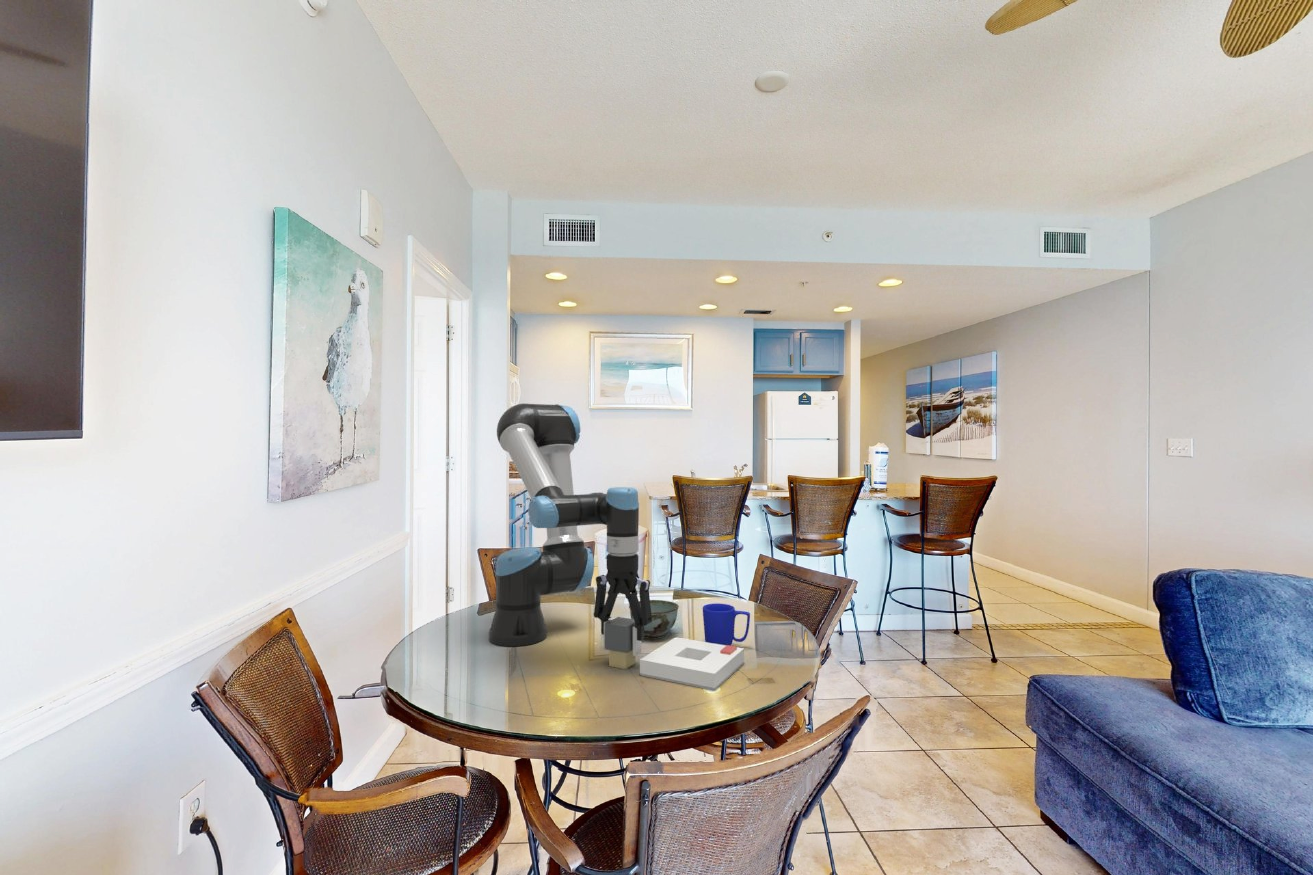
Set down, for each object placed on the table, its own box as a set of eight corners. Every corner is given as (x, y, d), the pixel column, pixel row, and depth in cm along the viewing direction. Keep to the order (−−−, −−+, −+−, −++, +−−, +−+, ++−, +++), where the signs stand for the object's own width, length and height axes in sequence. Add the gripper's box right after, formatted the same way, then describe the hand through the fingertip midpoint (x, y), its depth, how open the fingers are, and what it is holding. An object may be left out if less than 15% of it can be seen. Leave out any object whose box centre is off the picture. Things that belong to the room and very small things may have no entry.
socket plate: (639, 675, 135) (640, 656, 135) (675, 651, 150) (675, 634, 150) (714, 690, 126) (714, 670, 126) (744, 663, 142) (743, 645, 142)
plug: (604, 666, 140) (604, 623, 140) (618, 658, 145) (618, 616, 146) (626, 670, 137) (626, 626, 137) (639, 662, 143) (639, 620, 143)
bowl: (669, 645, 155) (669, 614, 155) (621, 639, 159) (621, 609, 160) (684, 630, 168) (684, 601, 168) (640, 625, 172) (640, 597, 172)
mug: (749, 654, 148) (749, 613, 149) (700, 650, 151) (700, 610, 151) (750, 643, 156) (750, 604, 157) (704, 640, 159) (704, 602, 159)
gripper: (578, 552, 143) (577, 649, 143) (652, 559, 134) (652, 663, 133) (595, 547, 150) (595, 640, 149) (667, 554, 140) (667, 653, 140)
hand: (622, 650), depth 141 cm, fingers open, 7 cm apart
